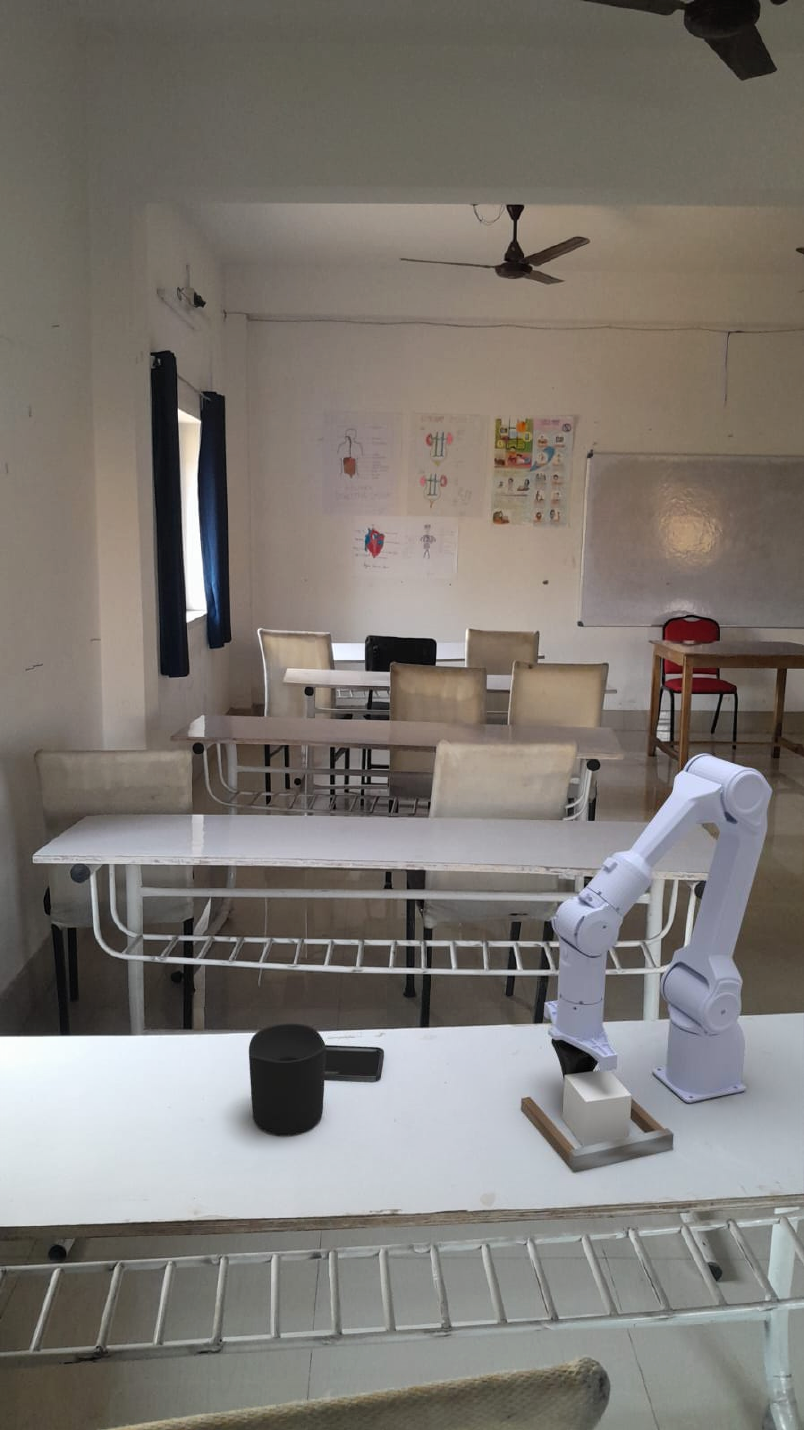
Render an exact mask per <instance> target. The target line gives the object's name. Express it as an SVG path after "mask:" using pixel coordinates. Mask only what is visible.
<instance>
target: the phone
mask: <svg viewBox="0 0 804 1430" xmlns="http://www.w3.org/2000/svg"><path fill="white" fill-rule="evenodd" d="M325 1045H326V1057H325V1079H324V1081H333V1082H334V1081H335V1082H351V1083H352V1082H356V1083H377V1082H379V1081H380V1080H381V1079H382V1072H383V1066H384V1065H383V1064H384V1058H385V1051H384V1049H383V1048H381V1047H379V1046H356V1045H353V1046H352V1045H333V1044H332V1045H331V1044H325Z"/></svg>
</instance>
